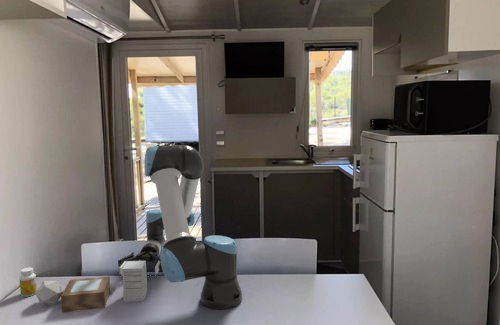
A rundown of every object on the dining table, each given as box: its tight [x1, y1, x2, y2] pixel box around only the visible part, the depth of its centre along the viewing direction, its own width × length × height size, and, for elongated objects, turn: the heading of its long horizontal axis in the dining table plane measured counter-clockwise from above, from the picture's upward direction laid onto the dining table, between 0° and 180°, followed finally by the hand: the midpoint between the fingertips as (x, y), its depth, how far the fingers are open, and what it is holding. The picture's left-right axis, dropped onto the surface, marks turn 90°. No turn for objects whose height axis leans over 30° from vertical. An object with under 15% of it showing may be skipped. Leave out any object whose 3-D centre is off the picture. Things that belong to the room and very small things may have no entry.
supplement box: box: [121, 261, 148, 302], centre depth 144 cm, size 7×7×13 cm
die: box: [34, 280, 65, 305], centre depth 140 cm, size 8×9×10 cm
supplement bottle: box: [18, 266, 38, 298], centre depth 147 cm, size 5×5×10 cm
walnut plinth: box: [60, 276, 111, 313], centre depth 141 cm, size 14×13×6 cm
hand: (138, 270), depth 150 cm, fingers open, 13 cm apart
